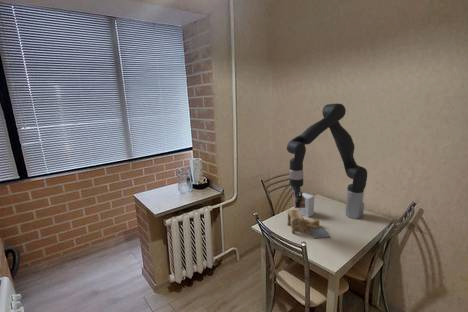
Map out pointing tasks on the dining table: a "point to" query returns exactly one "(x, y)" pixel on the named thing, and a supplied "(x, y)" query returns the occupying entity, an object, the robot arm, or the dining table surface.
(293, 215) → the oak bridge
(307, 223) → the beech rod
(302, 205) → the walnut block
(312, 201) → the small box
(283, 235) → the dining table surface
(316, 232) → the slate coaster
